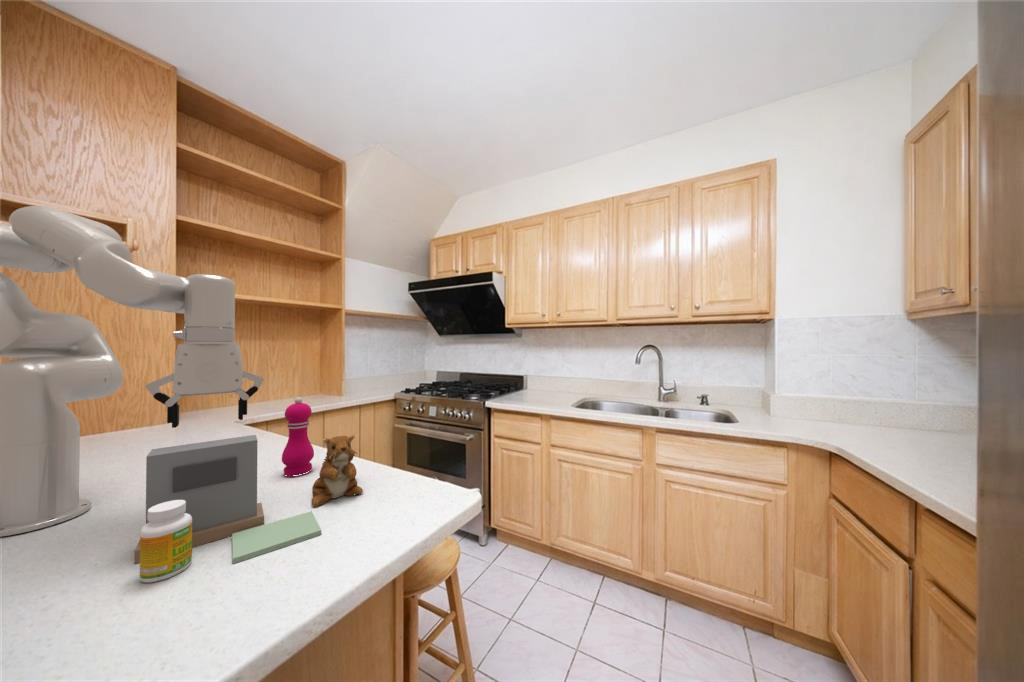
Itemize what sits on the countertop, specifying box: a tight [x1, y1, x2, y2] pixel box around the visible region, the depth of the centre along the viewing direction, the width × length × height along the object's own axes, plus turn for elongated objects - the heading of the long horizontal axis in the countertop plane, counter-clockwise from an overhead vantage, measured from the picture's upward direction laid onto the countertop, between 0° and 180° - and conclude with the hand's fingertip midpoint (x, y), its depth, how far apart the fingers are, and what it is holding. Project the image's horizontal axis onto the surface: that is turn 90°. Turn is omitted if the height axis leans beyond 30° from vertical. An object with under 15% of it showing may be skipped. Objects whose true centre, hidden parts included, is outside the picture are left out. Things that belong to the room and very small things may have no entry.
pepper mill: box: [281, 396, 315, 476], centre depth 88 cm, size 7×7×20 cm
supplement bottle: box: [139, 500, 193, 584], centre depth 49 cm, size 5×5×10 cm
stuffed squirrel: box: [311, 434, 364, 508], centre depth 76 cm, size 10×14×13 cm
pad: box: [231, 510, 322, 565], centre depth 58 cm, size 12×9×1 cm
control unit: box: [133, 434, 265, 565], centre depth 59 cm, size 16×7×16 cm, turn 131°
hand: (209, 422), depth 66 cm, fingers open, 9 cm apart
